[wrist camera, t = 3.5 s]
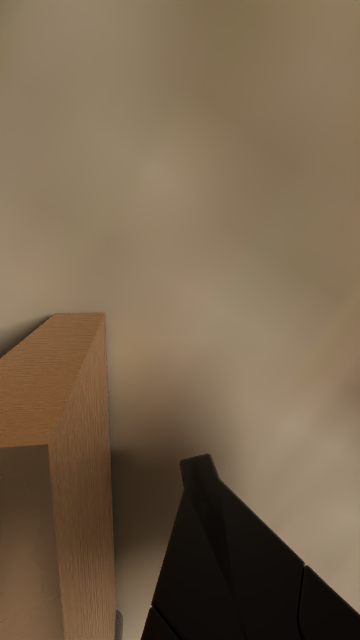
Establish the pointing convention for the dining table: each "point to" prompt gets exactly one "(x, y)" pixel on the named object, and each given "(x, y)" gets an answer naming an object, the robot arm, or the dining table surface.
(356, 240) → the dining table surface
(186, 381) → the dining table surface
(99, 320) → the rectangular wooden block
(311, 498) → the dining table surface
